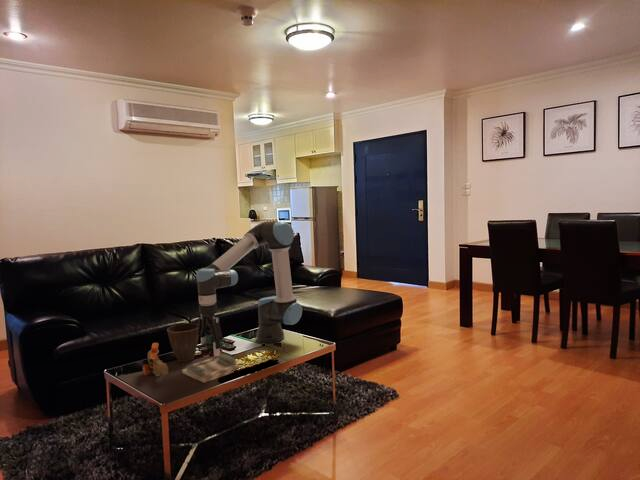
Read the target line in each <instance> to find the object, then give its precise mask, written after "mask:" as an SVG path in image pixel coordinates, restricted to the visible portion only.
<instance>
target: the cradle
mask: <svg viewBox="0 0 640 480" xmlns="http://www.w3.org/2000/svg"><path fill="white" fill-rule="evenodd" d="M239 368H241V369H242V366H241V365H239V364H237V360H236V358H234V357H231V356H228V355H226V354H220V355H219V356H217V358H214V357H210V358H208V359H205V360H201V361H198V362H195V363H192V364H189V365H186V368H184V369H181V371H182V374H184V375H186V376H188V377H190V378H193V379H195V380H197V381H199V382H201V383H203V384H204V383H208V382H210V381H214V380H216V379H218V378H222V377H224V376H227V375H230V374H232V373H235V372H234V371H235V370H237V369H239Z"/></svg>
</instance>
